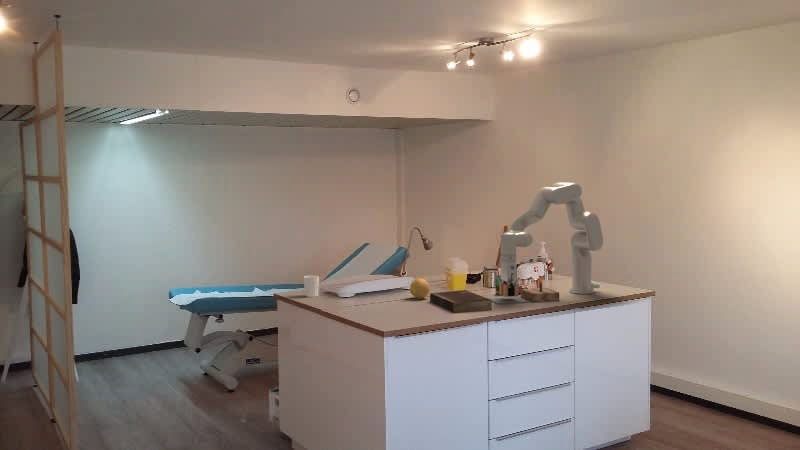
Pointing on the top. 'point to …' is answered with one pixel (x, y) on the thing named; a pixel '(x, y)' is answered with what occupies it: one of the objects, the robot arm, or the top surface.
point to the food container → (497, 283)
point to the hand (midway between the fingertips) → (508, 294)
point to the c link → (504, 289)
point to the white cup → (311, 286)
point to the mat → (508, 300)
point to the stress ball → (419, 288)
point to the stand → (539, 294)
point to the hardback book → (461, 301)
